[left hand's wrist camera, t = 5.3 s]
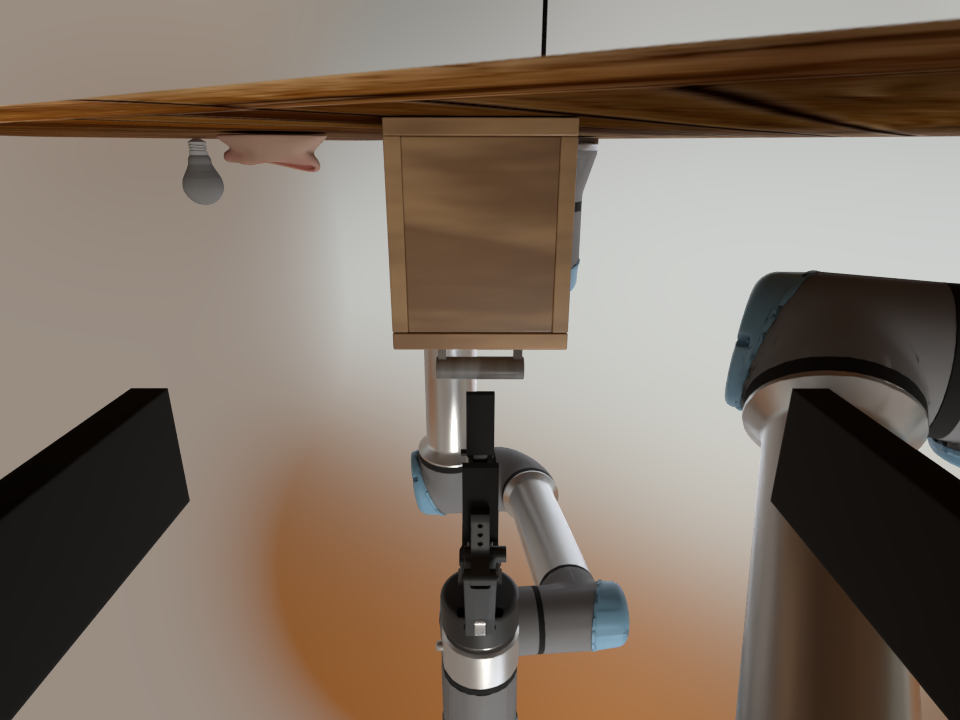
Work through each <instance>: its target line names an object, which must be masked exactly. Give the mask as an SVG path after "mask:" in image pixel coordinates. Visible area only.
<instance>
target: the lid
mask: <svg viewBox="0 0 960 720" xmlns="http://www.w3.org/2000/svg"><path fill="white" fill-rule="evenodd" d="M393 346H394V349H438V357H436V378H437V379H523V378H524V358H523V357H522V350H566V349H567V333H555V332H409V331H408V332H394V333H393ZM447 349H480V350H481V349H482V350H484V349H485V350H488V349H489V350H495V349H496V350H513V357H447Z"/></svg>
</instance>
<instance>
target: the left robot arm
mask: <svg viewBox="0 0 960 720" xmlns="http://www.w3.org/2000/svg"><path fill="white" fill-rule="evenodd" d="M725 401H726V402H727V404H729V405H730V406H732V407H736V408H737V409H738V410H740V411H742V420H743V425H744V428H745V430H746V432H747V434H748V435H749V436H750V438H751V439H752V440H753V441H754V442H755V443H756V444H757V445H758V446H760V447H761V453H760V463H759V474H758V485H757V496H756V506H755V517H754V528H753V538H752V549H751V560H750V570H749V581H748V591H747V602H746V613H745V624H744V635H743V645H742V655H741V666H740V677H739V687H738V698H737V709H736V719H735V720H922V713H921V699H920V685H921V686H922V688H923V689H924V690H925V691H926V693H927V694H928V695H929V696H930V698H931V699H932V700H933V701H934V702H935V704H936V705H937V706H938V707H939V709H940V710H941V711H942V712H943V713H944V715H945V716H946V717H947V718H948V720H960V480H959V479H958V478H956V477H955V476H954V475H952V474H951V473H949V472H948V471H946V470H945V469H944V468H942V467H941V466H939V465H938V464H936V463H935V462H934V461H932V460H931V459H929V458H928V457H926V456H925V455H924V454H922V453H921V452H919V451H918V449H919V448H920V447H921V446H922V445H923V443H924V442H925V441H926V439H928V442H929V445H930V447H931V448H932V450H933V451H934V452H935V453H936V454H937V455H939V456H940V457H941V458H943V459H944V460H946V461H948V462H949V463H951V464H953V465H956V466H958V467H960V284H957V283H945V282H931V281H920V280H908V279H897V278H885V277H874V276H862V275H850V274H839V273H827V272H820V271H814V270H813V271H808V272H773V273H770V274H767V275H765V276H764V277H762V278H761V279H760V280H759V281H758V282H757V283H756V284H755V286H754V288H753V290H752V292H751V294H750V297H749V300H748V303H747V305H746V308H745V312H744V315H743V318H742V321H741V325H740V329H739V332H738V341H737V342H736V345H735V349H734V352H733V355H732V359H731V363H730V367H729V372H728V377H727V382H726V389H725ZM189 501H190V500H189V495H188V490H187V485H186V480H185V474H184V469H183V464H182V459H181V454H180V449H179V444H178V439H177V434H176V429H175V423H174V418H173V413H172V408H171V403H170V398H169V393H168V389H167V388H131V389H130V390H128V391H127V392H125V393H124V394H122V395H121V396H119V397H118V398H117V399H115V400H114V401H112V402H111V403H109V404H108V405H107V406H105V407H104V408H102V409H101V410H99V411H98V412H97V413H95V414H94V415H92V416H91V417H89V418H88V419H87V420H85V421H84V422H82V423H81V424H79V425H78V426H77V427H75V428H74V429H72V430H71V431H69V432H68V433H67V434H65V435H64V436H62V437H61V438H59V439H58V440H56V441H55V442H54V443H52V444H51V445H49V446H48V447H47V448H45V449H44V450H42V451H41V452H39V453H38V454H36V455H35V456H34V457H32V458H31V459H29V460H28V461H27V462H25V463H24V464H22V465H21V466H19V467H18V468H16V469H15V470H14V471H12V472H11V473H9V474H8V475H6V476H5V477H4V478H2V479H1V480H0V720H12V718H13V717H14V716H15V715H16V713H17V712H18V711H19V710H20V709H21V707H22V706H23V705H24V704H25V702H26V701H27V700H28V699H29V697H30V696H31V695H32V694H33V693H34V691H35V690H36V689H37V688H38V686H39V685H40V684H41V683H42V682H43V680H44V679H45V678H46V677H47V675H48V674H49V673H50V672H51V670H52V669H53V668H54V667H55V666H56V664H57V663H58V662H59V661H60V659H61V658H62V657H63V656H64V654H65V653H66V652H67V651H68V650H69V648H70V647H71V646H72V645H73V644H74V642H75V641H76V640H77V639H78V637H79V636H80V635H81V634H82V632H83V631H84V630H85V629H86V627H87V626H88V625H89V624H90V623H91V621H92V620H93V619H94V618H95V617H96V615H97V614H98V613H99V611H100V610H101V609H102V608H103V607H104V605H105V604H106V603H107V602H108V601H109V599H110V598H111V597H112V596H113V594H114V593H115V592H116V591H117V590H118V588H119V587H120V586H121V585H122V583H123V582H124V581H125V580H126V578H127V577H128V576H129V575H130V574H131V572H132V571H133V570H134V569H135V567H136V566H137V565H138V564H139V562H140V561H141V560H142V559H143V558H144V556H145V555H146V554H147V553H148V551H149V550H150V549H151V548H152V547H153V545H154V544H155V543H156V542H157V540H158V539H159V538H160V537H161V535H162V534H163V533H164V532H165V531H166V529H167V528H168V527H169V526H170V524H171V523H172V522H173V521H174V520H175V518H176V517H177V516H178V515H179V513H180V512H181V511H182V510H183V509H184V507H185V506H186V505H187V504H188V502H189Z"/></svg>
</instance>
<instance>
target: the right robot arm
mask: <svg viewBox="0 0 960 720" xmlns="http://www.w3.org/2000/svg"><path fill="white" fill-rule="evenodd" d="M547 11H548V0H543V15H542V44H541V56H546V39H547ZM597 150H598V138H578V153H577V172H576V190H575V208H574V226H573V245H572V263H571V281H570V291H571V290H572V289H573V288H574V286H575V284H576V278H577V269H578V264H579V261H580V259H579V242H580V223H581V203H582V193H583V190H584V187H585V184H586V182H587V179H588V176H589V174H590V171H591V168H592V166H593V163H594V160H595V158H596V155H597ZM436 357H438V349H424V360H425V391H426V422H427V435H426V436H425V437H424V438H423V439H422V440H421V441H420V444H419V449H417V450H416V451H413V452H412V454H411V469H412V477H413V486H414V492H415V497H416V501H417V505H418V507H419V509H420V511H421V512H423V513H425V514H440V515H446V514H447V513H463V524H462V547H461V548H460V552H459V553H460V554H459V565H460V569H459V570H458V572H456V573H455V574H453V575H452V576H451V577H449V578H448V579H447V581H446V582H445V584H444V585H443V587H442V590H441V595H440V619H439V622H440V630H441V640H439V641H437V642H436V650H437V651H442V687H443V716H442V717H443V720H517V712H516V682H517V663H518V656H522V655H535V654H548V653H565V652H581V651H596V650H602V649H608V648H615V647H620V646H622V645H623V644H624V643H625V642H626V640H627V638H628V633H629V612H628V606H627V602H626V598H625V595H624V593H623V591H622V589H621V587H620V586H619V585H618V584H617V583H614V582H613V581H602V580H598V581H596V582H595V581H594V579H593V577H592V575H591V573H590V571H589V569H588V567H587V565H586V563H585V561H584V558H583V556H582V554H581V552H580V550H579V548H578V545H577V543H576V541H575V539H574V537H573V535H572V533H571V531H570V528H569V526H568V524H567V522H566V520H565V518H564V516H563V513H562V511H561V509H560V507H559V505H558V503H557V501H558V490H557V487H556V485H555V482H554V480H553V479H552V477H551V475H550V474H549V473H548V472H547V470H546V469H545V468H544V467H542V466H541V465H540V464H539V463H538V462H536V461H535V460H533V459H532V458H530V457H529V456H527V455H525V454H523V453H521V452H518V451H516V450H513V449H509V448H504V447H494V402H495V394H494V391H476V389H477V388H476V387H477V379H437V378H436ZM447 357H477V349H447ZM498 511H507V512H508V514H509V515H510V516H511V517H513V518H514V519H515V523H516V526H517V529H518V533H519V536H520V539H521V542H522V545H523V549H524V552H525V555H526V559H527V562H528V565H529V568H530V572H531V575H532V578H533V581H534V585H535V586H521V587H517V585H516V584H515V582H514V581H513V580H512V578H511V577H509V576H508V575H507V574H505V573H504V572H502V569H500V566H501V562H506V546H498ZM492 542H493V546H492Z"/></svg>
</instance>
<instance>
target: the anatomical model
mask: <svg viewBox="0 0 960 720" xmlns="http://www.w3.org/2000/svg"><path fill="white" fill-rule="evenodd" d="M326 137H327V136H326V135H307V134H220V135H217V138H218V139H220V140H221V141H222V142H224V143H225V144H227V145H228V146H229V147H230V149H229V150H227V151H226V152H225V153H224V159H225V160H226V161H228V162H236V163H241V164H246V165H255V164H260V163H270V164H275V165H280V166H285V167H289V168H293V169H298V170H302V171H308V172H316V171H318V170H319V169H320V163H319V161H318V160H317V158H316V157H315V156H314V151H315V149H316V148H317V147H318V146H319V145H320V144H321V143H322V142H323V141H324V140H325V139H326Z"/></svg>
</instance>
